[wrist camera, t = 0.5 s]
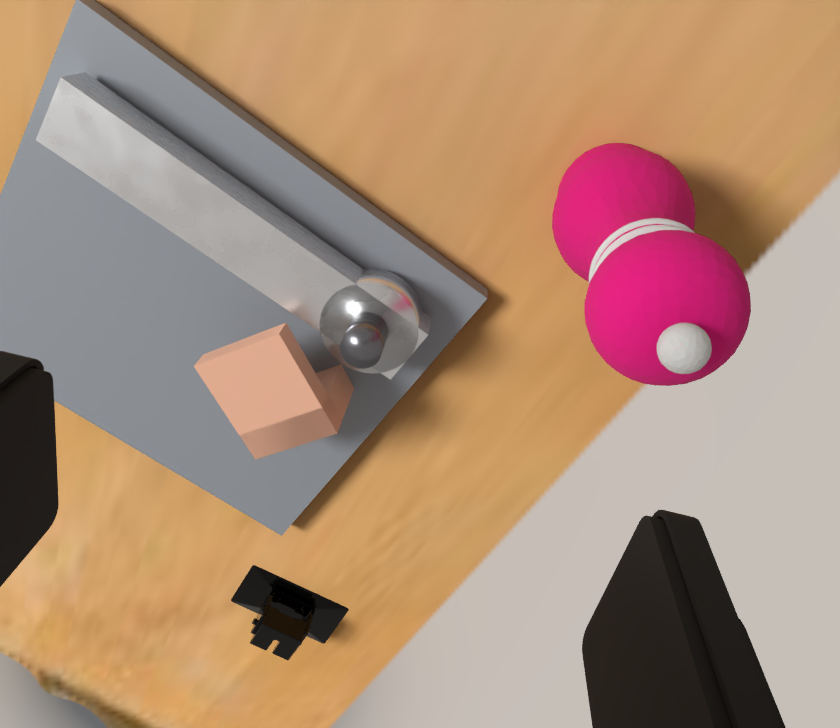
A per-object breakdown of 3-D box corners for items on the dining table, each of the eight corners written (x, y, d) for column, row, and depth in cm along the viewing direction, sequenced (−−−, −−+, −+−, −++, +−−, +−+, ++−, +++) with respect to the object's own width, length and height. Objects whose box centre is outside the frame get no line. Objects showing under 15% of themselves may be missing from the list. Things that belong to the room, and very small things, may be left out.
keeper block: (309, 287, 45) (278, 333, 39) (358, 377, 48) (337, 433, 42) (233, 317, 47) (193, 366, 41) (285, 402, 50) (255, 459, 44)
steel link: (441, 306, 43) (434, 343, 38) (387, 371, 45) (374, 412, 41) (91, 56, 38) (37, 65, 33) (54, 145, 40) (-1, 165, 36)
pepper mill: (664, 257, 42) (777, 455, 24) (543, 254, 42) (568, 443, 25) (685, 133, 38) (835, 260, 21) (553, 132, 39) (590, 254, 21)
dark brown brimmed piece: (213, 593, 62) (192, 635, 58) (242, 543, 58) (222, 584, 54) (336, 650, 63) (324, 694, 59) (371, 604, 60) (361, 648, 56)
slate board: (91, -3, 38) (76, -2, 37) (487, 289, 44) (487, 298, 42) (-40, 326, 50) (-55, 336, 48) (286, 522, 56) (281, 535, 54)
